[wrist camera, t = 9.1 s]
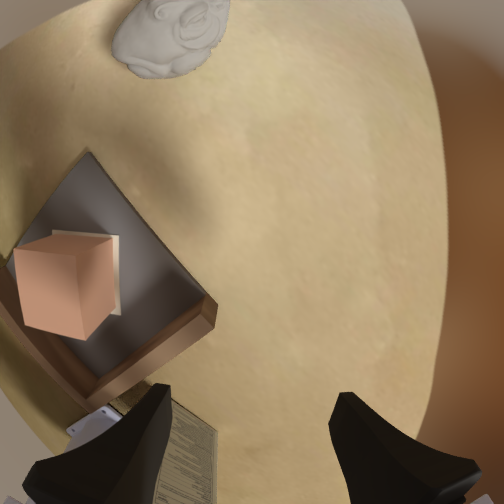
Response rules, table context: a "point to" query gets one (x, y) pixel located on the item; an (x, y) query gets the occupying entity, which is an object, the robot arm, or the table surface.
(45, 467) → the robot arm
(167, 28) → the frog figurine
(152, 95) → the table surface
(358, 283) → the table surface
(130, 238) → the tray
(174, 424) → the skincare box
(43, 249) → the cube
